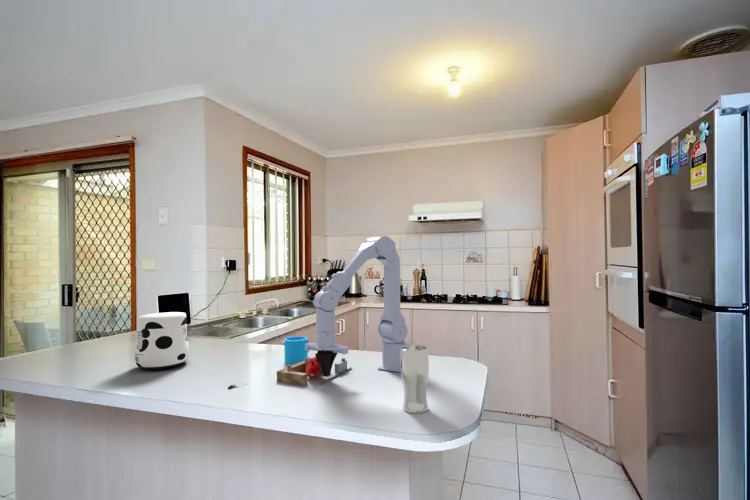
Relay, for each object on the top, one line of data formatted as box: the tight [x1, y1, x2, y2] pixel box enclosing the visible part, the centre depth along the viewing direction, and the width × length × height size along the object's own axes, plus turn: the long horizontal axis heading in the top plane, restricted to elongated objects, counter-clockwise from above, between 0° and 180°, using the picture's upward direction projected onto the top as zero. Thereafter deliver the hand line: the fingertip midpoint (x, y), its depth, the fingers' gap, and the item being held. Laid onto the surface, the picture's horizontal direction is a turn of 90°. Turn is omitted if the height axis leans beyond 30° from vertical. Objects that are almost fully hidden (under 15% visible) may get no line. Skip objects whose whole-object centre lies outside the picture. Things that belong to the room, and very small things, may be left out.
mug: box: [283, 335, 310, 365], centre depth 148 cm, size 12×8×8 cm
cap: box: [304, 356, 321, 379], centre depth 126 cm, size 8×6×6 cm
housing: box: [276, 358, 352, 386], centre depth 129 cm, size 14×20×4 cm
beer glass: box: [400, 344, 430, 415], centre depth 99 cm, size 7×7×15 cm
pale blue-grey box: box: [334, 357, 348, 374], centre depth 132 cm, size 2×5×4 cm, turn 152°
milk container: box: [134, 311, 191, 370], centre depth 144 cm, size 17×17×18 cm
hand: (326, 375), depth 123 cm, fingers closed
